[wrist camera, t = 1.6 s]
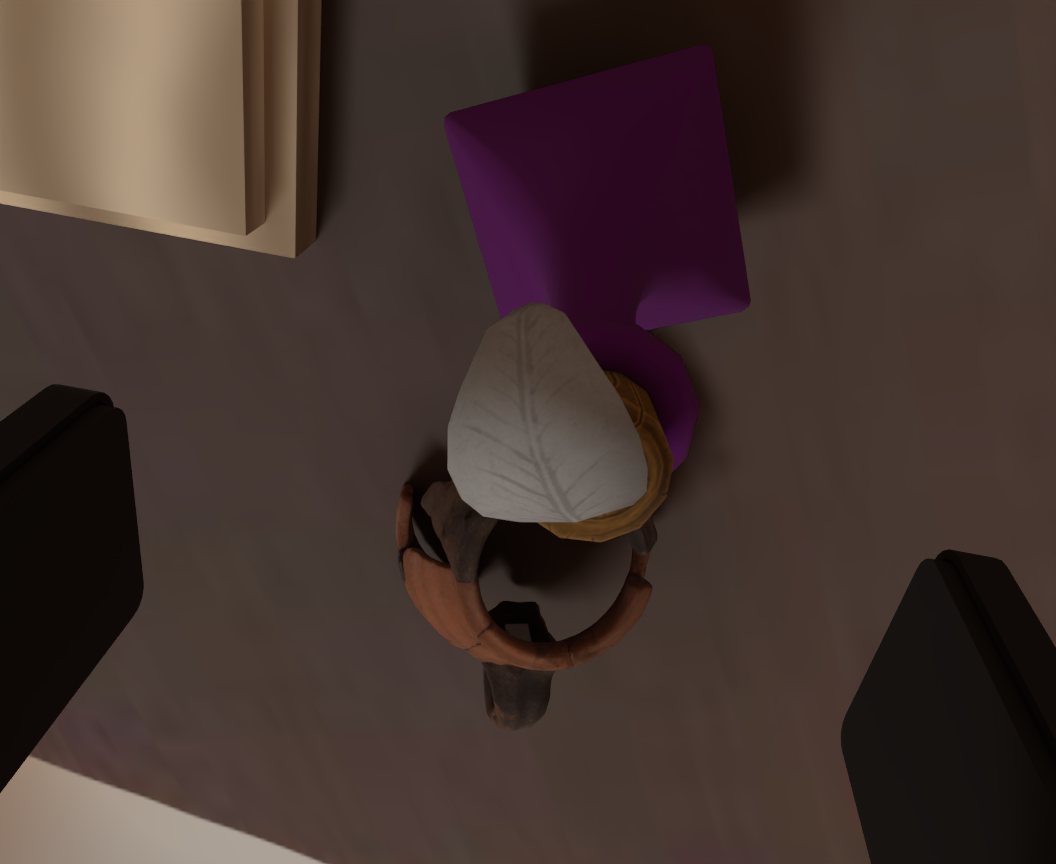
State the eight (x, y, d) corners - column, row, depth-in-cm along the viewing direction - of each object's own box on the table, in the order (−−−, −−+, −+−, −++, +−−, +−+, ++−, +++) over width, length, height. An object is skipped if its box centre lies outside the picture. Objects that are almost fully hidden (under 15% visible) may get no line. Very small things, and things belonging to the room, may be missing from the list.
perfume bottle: (741, 273, 28) (856, 668, 13) (524, 318, 30) (388, 714, 14) (704, 32, 25) (798, 160, 9) (463, 98, 27) (197, 300, 11)
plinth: (326, -227, 23) (277, -255, 20) (316, 240, 29) (277, 273, 26) (-135, -304, 23) (-251, -342, 20) (-45, 173, 30) (-124, 198, 27)
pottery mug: (368, 415, 33) (407, 466, 26) (591, 384, 36) (687, 421, 28) (402, 691, 36) (446, 810, 28) (606, 643, 39) (697, 739, 31)
